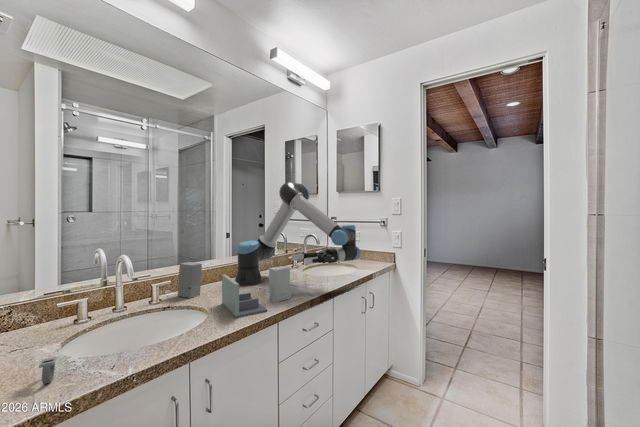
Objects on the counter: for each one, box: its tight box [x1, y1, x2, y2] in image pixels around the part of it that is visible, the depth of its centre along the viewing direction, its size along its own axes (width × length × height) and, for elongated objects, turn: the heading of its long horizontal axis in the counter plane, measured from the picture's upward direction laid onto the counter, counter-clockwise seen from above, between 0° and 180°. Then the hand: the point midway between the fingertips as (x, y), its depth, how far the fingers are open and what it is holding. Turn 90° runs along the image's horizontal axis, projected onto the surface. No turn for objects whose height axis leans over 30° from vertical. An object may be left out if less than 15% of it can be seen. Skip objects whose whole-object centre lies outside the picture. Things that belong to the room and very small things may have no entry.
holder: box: [221, 274, 268, 319], centre depth 119 cm, size 20×13×13 cm, turn 33°
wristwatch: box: [38, 356, 58, 385], centre depth 67 cm, size 6×3×5 cm, turn 35°
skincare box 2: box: [268, 265, 291, 303], centre depth 130 cm, size 8×6×15 cm
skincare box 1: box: [177, 261, 203, 299], centre depth 136 cm, size 8×7×16 cm
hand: (298, 259), depth 135 cm, fingers open, 13 cm apart
